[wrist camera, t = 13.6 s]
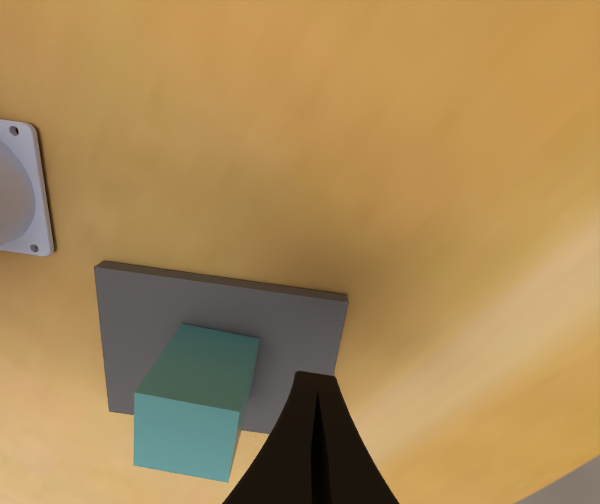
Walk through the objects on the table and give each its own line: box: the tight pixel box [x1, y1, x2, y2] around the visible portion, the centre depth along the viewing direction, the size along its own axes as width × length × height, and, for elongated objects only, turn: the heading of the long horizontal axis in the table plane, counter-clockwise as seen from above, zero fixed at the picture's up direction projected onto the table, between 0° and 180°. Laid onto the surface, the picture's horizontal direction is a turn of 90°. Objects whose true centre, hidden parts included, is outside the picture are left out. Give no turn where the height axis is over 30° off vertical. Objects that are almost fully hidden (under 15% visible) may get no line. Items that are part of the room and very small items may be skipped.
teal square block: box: [134, 324, 260, 483], centre depth 20 cm, size 5×5×6 cm
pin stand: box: [94, 261, 348, 434], centre depth 21 cm, size 16×12×6 cm
